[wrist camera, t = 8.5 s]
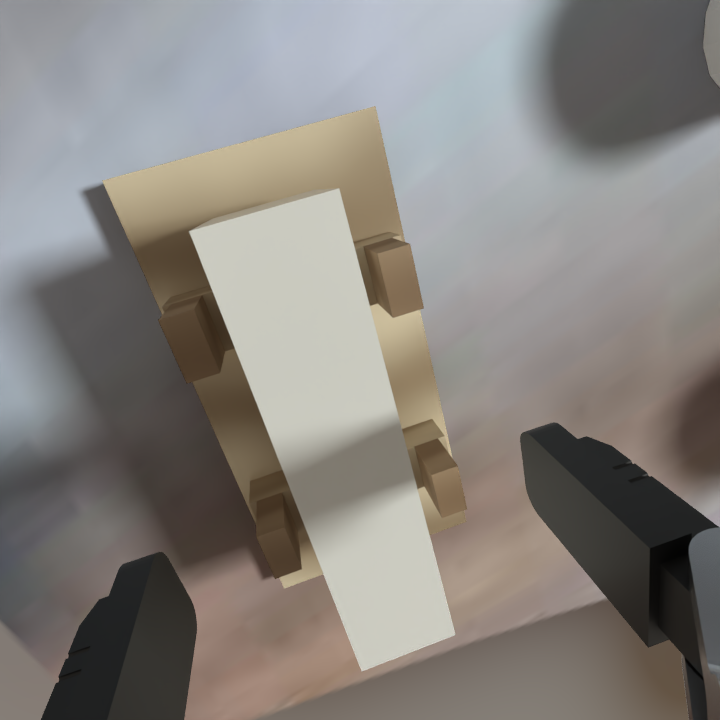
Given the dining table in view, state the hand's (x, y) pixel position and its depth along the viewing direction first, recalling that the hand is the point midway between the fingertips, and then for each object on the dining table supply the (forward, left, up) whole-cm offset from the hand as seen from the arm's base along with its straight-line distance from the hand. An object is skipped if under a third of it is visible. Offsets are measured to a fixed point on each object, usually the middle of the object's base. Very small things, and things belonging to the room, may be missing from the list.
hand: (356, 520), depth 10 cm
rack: (+1, 0, -10) cm, 10 cm away
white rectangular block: (0, 0, -7) cm, 7 cm away
